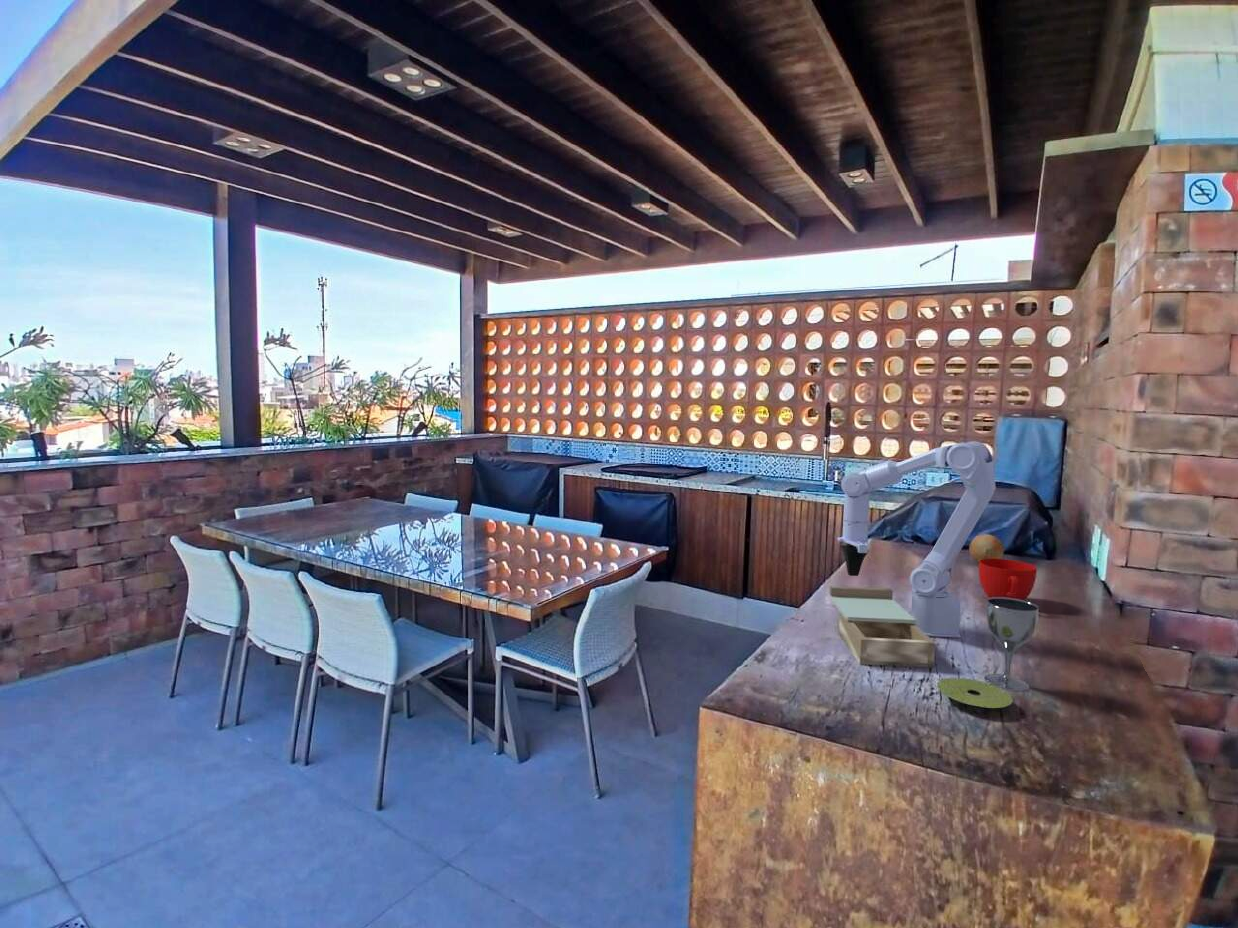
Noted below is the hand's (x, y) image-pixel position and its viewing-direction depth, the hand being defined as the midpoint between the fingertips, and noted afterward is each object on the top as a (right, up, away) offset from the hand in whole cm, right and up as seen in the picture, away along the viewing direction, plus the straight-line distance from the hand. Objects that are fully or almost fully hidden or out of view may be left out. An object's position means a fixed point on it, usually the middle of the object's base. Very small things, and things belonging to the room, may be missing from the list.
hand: (853, 575), depth 151 cm
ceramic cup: (+44, -9, +10) cm, 46 cm away
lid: (-1, -5, -14) cm, 15 cm away
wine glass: (+14, -13, -38) cm, 42 cm away
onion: (+63, -6, +51) cm, 81 cm away
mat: (+3, -14, -45) cm, 48 cm away
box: (-2, -12, -23) cm, 26 cm away
